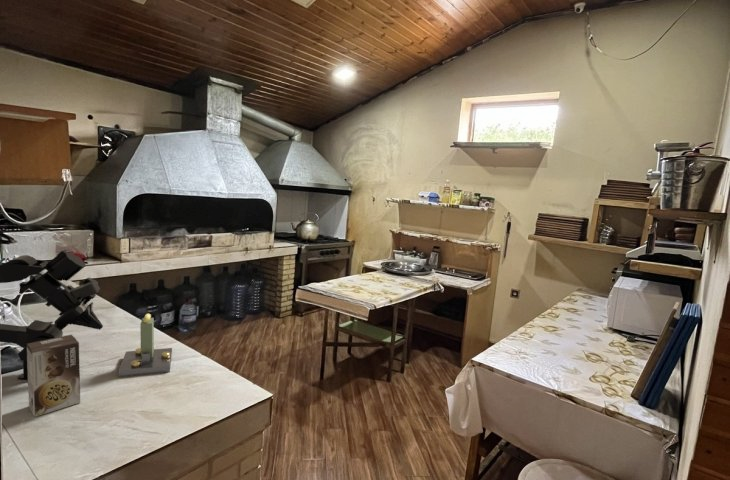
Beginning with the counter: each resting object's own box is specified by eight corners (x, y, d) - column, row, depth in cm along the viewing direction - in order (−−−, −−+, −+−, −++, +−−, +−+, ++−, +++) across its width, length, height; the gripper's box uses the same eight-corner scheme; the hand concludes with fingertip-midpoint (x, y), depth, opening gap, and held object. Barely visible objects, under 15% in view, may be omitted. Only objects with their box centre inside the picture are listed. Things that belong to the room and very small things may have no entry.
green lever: (140, 361, 115) (140, 319, 113) (142, 354, 120) (142, 313, 118) (152, 360, 116) (151, 318, 114) (153, 352, 121) (153, 312, 119)
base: (118, 377, 110) (118, 359, 109) (126, 357, 121) (126, 341, 121) (169, 372, 115) (170, 355, 114) (172, 353, 127) (172, 338, 126)
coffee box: (73, 393, 100) (72, 333, 98) (81, 403, 96) (80, 341, 94) (27, 406, 93) (25, 342, 91) (33, 417, 89) (32, 351, 87)
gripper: (69, 279, 99) (119, 318, 105) (87, 264, 116) (129, 299, 122) (31, 310, 97) (84, 348, 103) (55, 290, 114) (99, 324, 120)
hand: (101, 327), depth 112 cm, fingers closed
